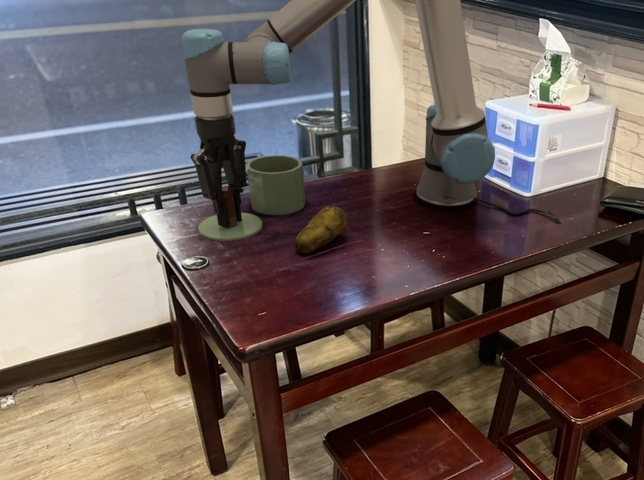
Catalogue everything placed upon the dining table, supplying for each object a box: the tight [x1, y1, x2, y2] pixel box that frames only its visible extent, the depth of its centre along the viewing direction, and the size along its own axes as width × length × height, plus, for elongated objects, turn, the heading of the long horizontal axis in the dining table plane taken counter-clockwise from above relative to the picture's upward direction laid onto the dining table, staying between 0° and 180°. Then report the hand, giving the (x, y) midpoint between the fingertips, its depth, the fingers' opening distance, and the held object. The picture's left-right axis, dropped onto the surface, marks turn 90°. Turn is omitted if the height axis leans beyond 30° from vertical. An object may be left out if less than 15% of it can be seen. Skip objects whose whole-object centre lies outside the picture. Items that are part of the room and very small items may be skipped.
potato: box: [294, 205, 349, 254], centre depth 129 cm, size 8×13×8 cm, turn 123°
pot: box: [245, 154, 306, 216], centre depth 145 cm, size 13×13×10 cm
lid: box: [197, 185, 263, 242], centre depth 134 cm, size 14×14×10 cm
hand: (230, 222), depth 135 cm, fingers closed on lid, 3 cm apart
